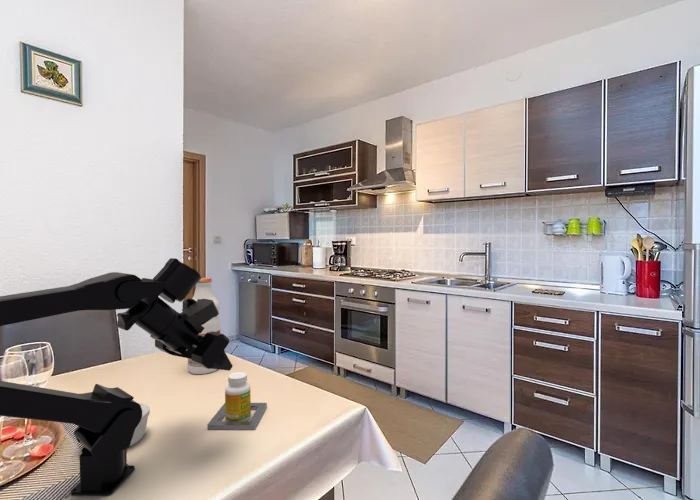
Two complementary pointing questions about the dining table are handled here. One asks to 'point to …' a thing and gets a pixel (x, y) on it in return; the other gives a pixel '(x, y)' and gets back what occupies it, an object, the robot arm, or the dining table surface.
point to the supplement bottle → (237, 398)
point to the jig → (237, 425)
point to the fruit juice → (213, 324)
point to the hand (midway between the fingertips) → (217, 363)
